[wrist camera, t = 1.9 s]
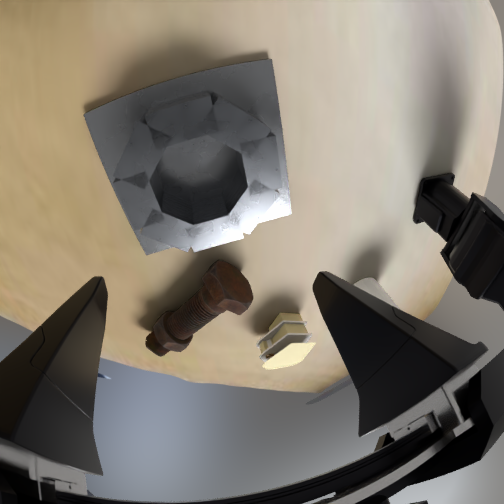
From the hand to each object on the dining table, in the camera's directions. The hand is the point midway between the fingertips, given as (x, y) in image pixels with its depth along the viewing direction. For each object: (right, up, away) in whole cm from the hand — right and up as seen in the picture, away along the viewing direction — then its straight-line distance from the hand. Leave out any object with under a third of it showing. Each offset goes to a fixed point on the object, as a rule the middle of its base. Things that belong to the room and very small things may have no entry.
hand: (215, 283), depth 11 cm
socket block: (-3, +8, +10) cm, 13 cm away
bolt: (-6, -5, +20) cm, 22 cm away
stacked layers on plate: (+5, -9, +28) cm, 30 cm away
